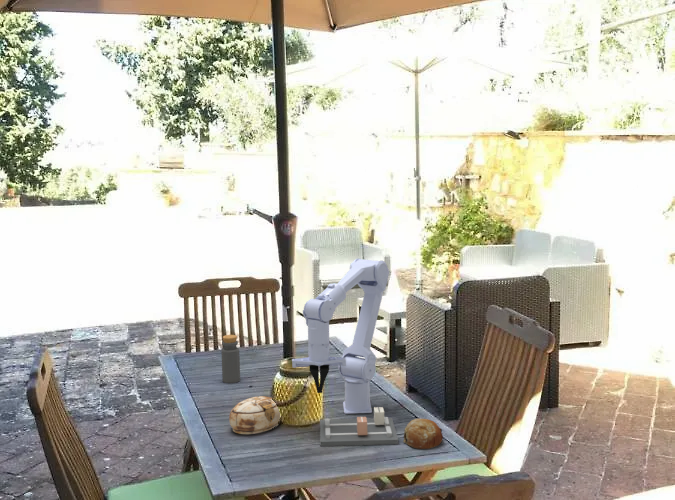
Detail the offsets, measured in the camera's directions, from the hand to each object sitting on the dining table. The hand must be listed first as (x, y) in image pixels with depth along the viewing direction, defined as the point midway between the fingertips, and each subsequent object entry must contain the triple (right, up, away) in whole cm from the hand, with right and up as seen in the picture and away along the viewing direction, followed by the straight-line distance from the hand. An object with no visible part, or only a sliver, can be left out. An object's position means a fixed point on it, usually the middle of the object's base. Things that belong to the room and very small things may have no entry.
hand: (319, 391), depth 209 cm
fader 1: (+11, -9, -8) cm, 16 cm away
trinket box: (-18, -10, +3) cm, 21 cm away
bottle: (-30, -5, +45) cm, 54 cm away
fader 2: (+16, -8, -1) cm, 18 cm away
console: (+10, -10, -4) cm, 15 cm away
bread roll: (+27, -11, -10) cm, 31 cm away
